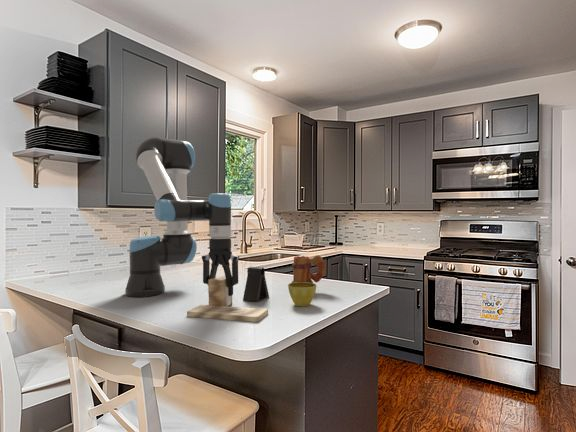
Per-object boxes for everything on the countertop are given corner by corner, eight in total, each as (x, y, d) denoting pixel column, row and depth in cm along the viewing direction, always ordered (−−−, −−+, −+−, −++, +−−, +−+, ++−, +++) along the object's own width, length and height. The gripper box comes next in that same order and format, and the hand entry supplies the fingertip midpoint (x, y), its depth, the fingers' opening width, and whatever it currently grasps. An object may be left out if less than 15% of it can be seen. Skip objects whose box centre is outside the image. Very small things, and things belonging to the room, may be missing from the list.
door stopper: (256, 302, 130) (256, 269, 130) (242, 300, 132) (242, 268, 132) (269, 297, 138) (268, 266, 137) (256, 295, 140) (255, 265, 140)
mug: (288, 291, 147) (287, 255, 147) (295, 287, 154) (294, 253, 154) (322, 294, 141) (321, 256, 141) (327, 290, 149) (327, 254, 149)
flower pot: (312, 300, 132) (312, 281, 132) (319, 307, 122) (319, 286, 122) (286, 302, 130) (285, 282, 130) (290, 309, 120) (290, 288, 120)
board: (187, 316, 113) (186, 311, 113) (201, 308, 121) (201, 304, 121) (257, 322, 106) (257, 316, 106) (267, 313, 115) (267, 309, 115)
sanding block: (208, 309, 121) (208, 279, 121) (219, 303, 129) (219, 275, 129) (222, 310, 120) (221, 280, 120) (232, 304, 127) (232, 276, 127)
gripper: (191, 238, 123) (192, 305, 123) (239, 238, 118) (240, 308, 118) (202, 236, 130) (203, 300, 130) (248, 237, 125) (249, 303, 125)
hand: (220, 304), depth 124 cm, fingers closed on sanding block, 5 cm apart
